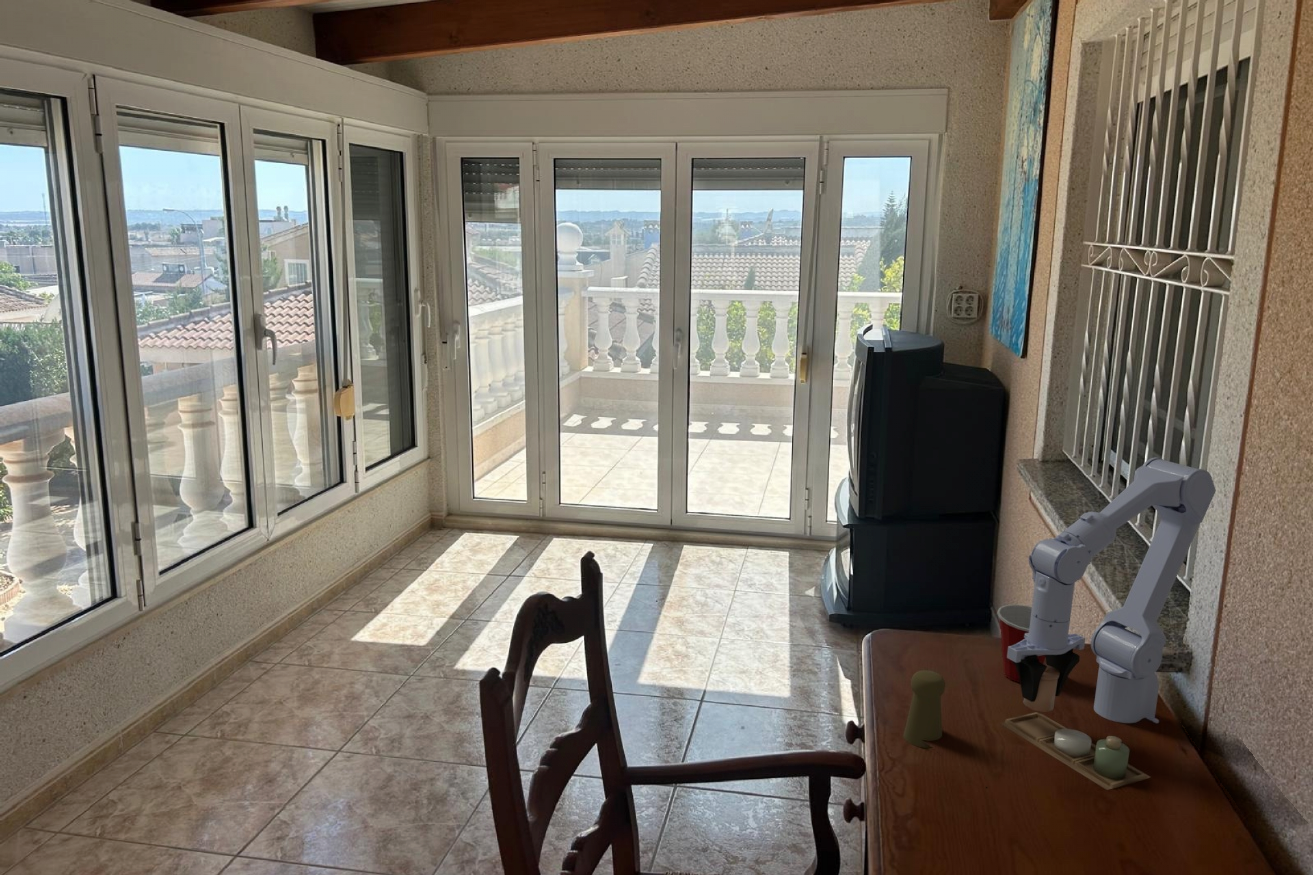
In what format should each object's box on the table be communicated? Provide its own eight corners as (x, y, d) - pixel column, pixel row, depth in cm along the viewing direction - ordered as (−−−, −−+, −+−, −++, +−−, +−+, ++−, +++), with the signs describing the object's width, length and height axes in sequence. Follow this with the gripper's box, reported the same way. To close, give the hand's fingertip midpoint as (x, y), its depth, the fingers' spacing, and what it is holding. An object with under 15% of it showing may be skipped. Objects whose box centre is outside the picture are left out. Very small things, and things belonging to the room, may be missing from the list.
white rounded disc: (1070, 737, 155) (1072, 726, 155) (1097, 753, 151) (1099, 741, 150) (1046, 744, 153) (1047, 732, 153) (1072, 760, 149) (1074, 748, 148)
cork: (944, 750, 153) (950, 684, 150) (904, 745, 154) (910, 679, 152) (941, 731, 158) (947, 667, 156) (902, 726, 160) (908, 663, 157)
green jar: (1107, 760, 149) (1111, 729, 148) (1132, 775, 145) (1137, 743, 144) (1086, 766, 147) (1091, 734, 146) (1111, 781, 143) (1116, 749, 142)
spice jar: (1036, 695, 161) (1042, 656, 159) (1060, 708, 157) (1067, 668, 155) (1015, 700, 158) (1021, 661, 157) (1039, 714, 154) (1045, 673, 153)
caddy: (1040, 720, 163) (1041, 710, 163) (1149, 784, 145) (1151, 773, 144) (999, 729, 160) (1000, 720, 159) (1106, 797, 141) (1107, 786, 141)
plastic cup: (1024, 695, 172) (1032, 631, 170) (977, 671, 181) (984, 609, 179) (1066, 683, 177) (1074, 621, 175) (1018, 660, 187) (1025, 600, 184)
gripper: (1064, 601, 161) (1054, 678, 164) (996, 612, 155) (987, 692, 157) (1099, 616, 155) (1089, 696, 157) (1030, 629, 149) (1021, 712, 151)
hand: (1040, 696), depth 157 cm, fingers closed on spice jar, 5 cm apart
